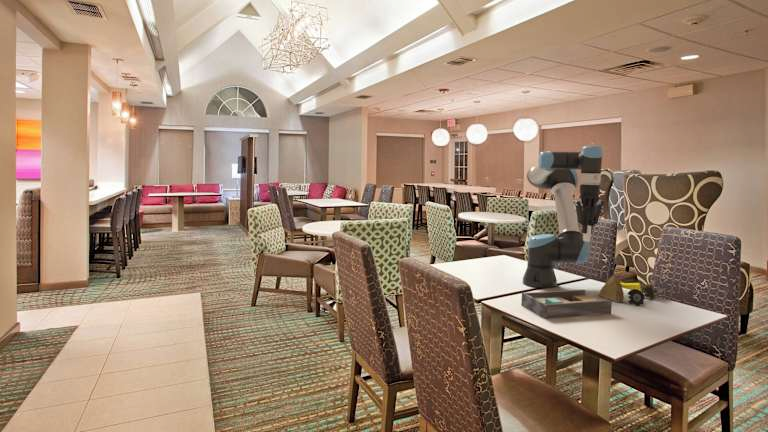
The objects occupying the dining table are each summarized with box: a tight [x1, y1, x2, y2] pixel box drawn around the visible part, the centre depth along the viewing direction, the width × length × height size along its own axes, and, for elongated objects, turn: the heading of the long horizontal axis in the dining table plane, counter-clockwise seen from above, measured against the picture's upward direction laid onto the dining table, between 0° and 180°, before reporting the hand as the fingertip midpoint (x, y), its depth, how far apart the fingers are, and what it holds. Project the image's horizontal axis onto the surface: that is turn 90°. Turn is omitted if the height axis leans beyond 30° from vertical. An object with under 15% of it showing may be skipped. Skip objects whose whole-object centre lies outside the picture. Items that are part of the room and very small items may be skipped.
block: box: [545, 298, 563, 304], centre depth 168 cm, size 5×5×4 cm
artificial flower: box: [627, 279, 665, 306], centre depth 188 cm, size 9×22×10 cm, turn 125°
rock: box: [598, 274, 625, 303], centre depth 188 cm, size 11×9×10 cm
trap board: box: [520, 289, 613, 319], centre depth 173 cm, size 16×28×5 cm, turn 103°
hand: (586, 241), depth 186 cm, fingers closed
